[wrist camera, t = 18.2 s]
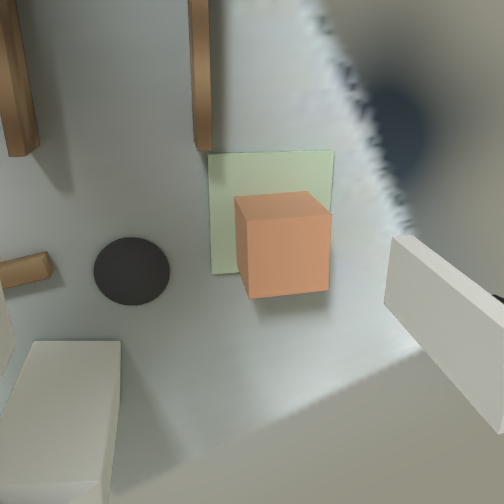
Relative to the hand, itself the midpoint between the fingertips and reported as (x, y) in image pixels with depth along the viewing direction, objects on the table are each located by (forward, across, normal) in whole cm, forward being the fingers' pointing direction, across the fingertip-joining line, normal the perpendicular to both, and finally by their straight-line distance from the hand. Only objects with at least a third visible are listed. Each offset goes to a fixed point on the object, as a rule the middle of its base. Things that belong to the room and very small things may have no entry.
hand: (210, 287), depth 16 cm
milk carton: (+22, -10, -19) cm, 31 cm away
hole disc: (+22, -4, -10) cm, 24 cm away
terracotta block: (+21, +7, -7) cm, 23 cm away
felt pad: (+22, +7, -5) cm, 24 cm away
